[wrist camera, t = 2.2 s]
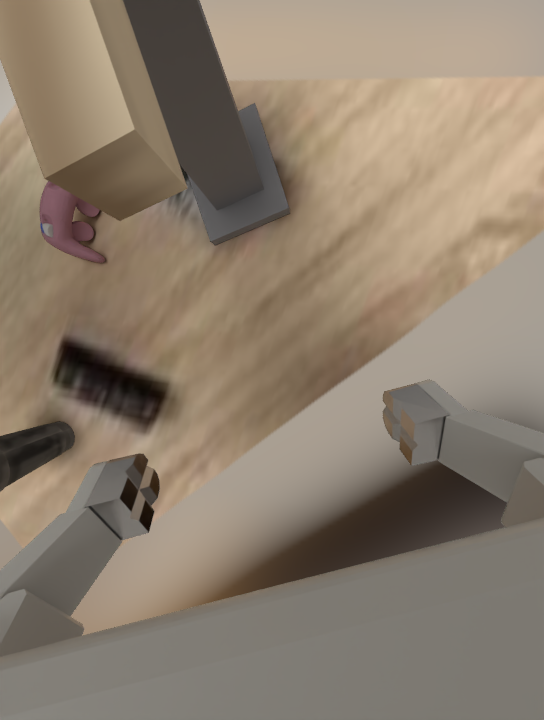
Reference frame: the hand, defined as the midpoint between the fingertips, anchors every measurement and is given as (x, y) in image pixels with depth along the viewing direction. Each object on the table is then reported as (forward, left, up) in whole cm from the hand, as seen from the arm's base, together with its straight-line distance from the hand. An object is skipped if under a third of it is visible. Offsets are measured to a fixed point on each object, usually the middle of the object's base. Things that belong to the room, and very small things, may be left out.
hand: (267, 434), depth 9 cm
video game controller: (-20, +26, -26) cm, 42 cm away
